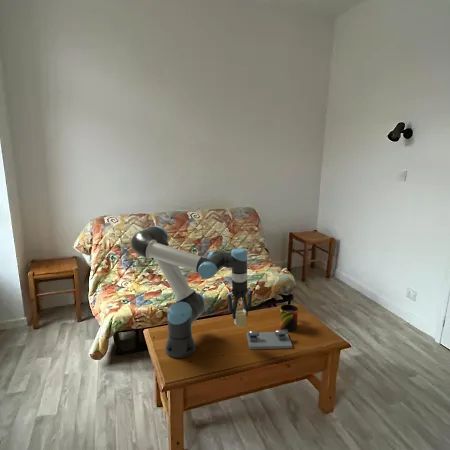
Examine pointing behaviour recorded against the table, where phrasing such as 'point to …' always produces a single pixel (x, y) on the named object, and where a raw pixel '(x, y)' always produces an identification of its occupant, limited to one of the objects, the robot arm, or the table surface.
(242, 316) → the tan rectangular block
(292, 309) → the patterned mug
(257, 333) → the shaft left
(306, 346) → the table surface
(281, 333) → the shaft right
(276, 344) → the base plate
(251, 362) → the table surface
